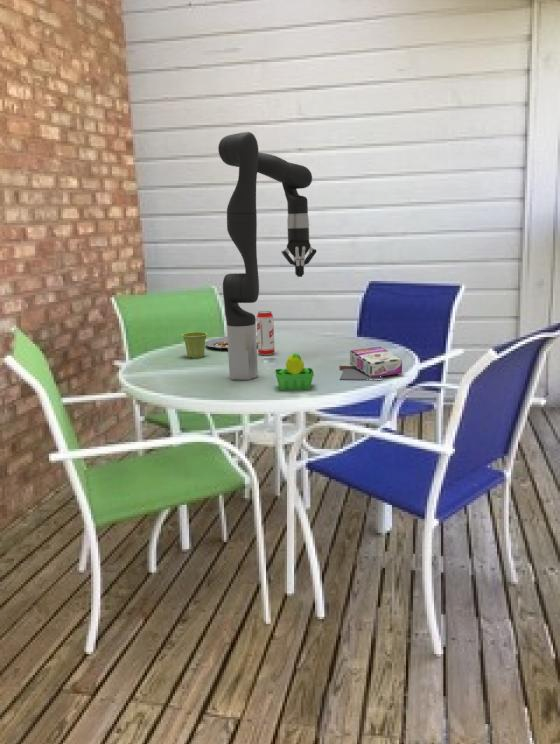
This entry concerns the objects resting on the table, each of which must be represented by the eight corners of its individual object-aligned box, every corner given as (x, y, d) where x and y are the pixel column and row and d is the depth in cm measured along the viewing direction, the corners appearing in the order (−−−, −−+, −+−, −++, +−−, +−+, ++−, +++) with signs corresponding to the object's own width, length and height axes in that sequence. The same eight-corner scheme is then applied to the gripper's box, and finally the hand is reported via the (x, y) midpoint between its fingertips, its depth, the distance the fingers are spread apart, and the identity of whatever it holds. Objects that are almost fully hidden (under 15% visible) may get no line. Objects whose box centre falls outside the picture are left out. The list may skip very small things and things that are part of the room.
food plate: (260, 337, 278) (260, 329, 277) (273, 348, 256) (272, 339, 255) (202, 344, 272) (201, 335, 271) (210, 355, 250) (209, 346, 250)
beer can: (275, 352, 247) (274, 310, 244) (273, 355, 241) (272, 312, 238) (259, 352, 248) (257, 310, 244) (257, 356, 242) (255, 313, 238)
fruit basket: (312, 383, 200) (311, 347, 197) (315, 391, 191) (314, 353, 189) (275, 385, 199) (274, 349, 197) (276, 392, 191) (274, 355, 188)
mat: (382, 380, 200) (382, 379, 200) (339, 379, 203) (339, 378, 203) (383, 370, 213) (383, 369, 213) (344, 369, 216) (344, 368, 215)
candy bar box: (349, 364, 217) (370, 378, 202) (349, 350, 216) (369, 363, 201) (380, 360, 220) (402, 373, 205) (380, 346, 218) (402, 358, 203)
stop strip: (388, 370, 213) (388, 366, 212) (339, 369, 216) (339, 366, 215) (388, 369, 213) (388, 366, 213) (339, 369, 217) (339, 365, 216)
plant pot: (205, 353, 251) (204, 331, 249) (210, 357, 242) (209, 334, 240) (181, 355, 248) (180, 333, 246) (185, 360, 239) (184, 337, 237)
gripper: (313, 226, 233) (314, 274, 237) (277, 227, 230) (279, 276, 234) (319, 226, 226) (320, 276, 230) (282, 227, 223) (284, 278, 227)
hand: (299, 276), depth 232 cm, fingers closed
